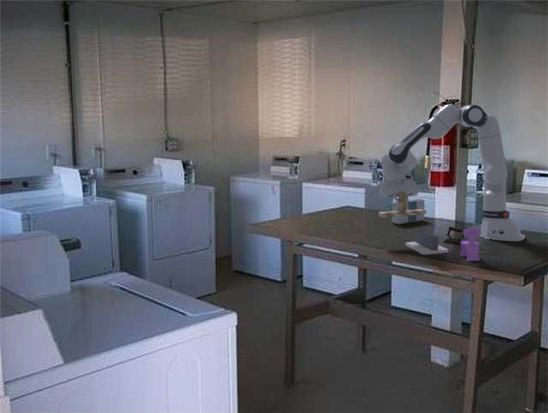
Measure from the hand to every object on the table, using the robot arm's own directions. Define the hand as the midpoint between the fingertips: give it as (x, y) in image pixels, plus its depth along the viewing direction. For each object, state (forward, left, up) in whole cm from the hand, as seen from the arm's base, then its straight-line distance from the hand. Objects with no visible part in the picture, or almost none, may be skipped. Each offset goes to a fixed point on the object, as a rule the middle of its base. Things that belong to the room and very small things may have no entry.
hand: (403, 202), depth 309 cm
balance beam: (0, 0, -7) cm, 7 cm away
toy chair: (-39, +11, -21) cm, 46 cm away
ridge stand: (-15, +5, -21) cm, 26 cm away
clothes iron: (-23, -15, -22) cm, 35 cm away
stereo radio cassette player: (+22, -51, -21) cm, 60 cm away
